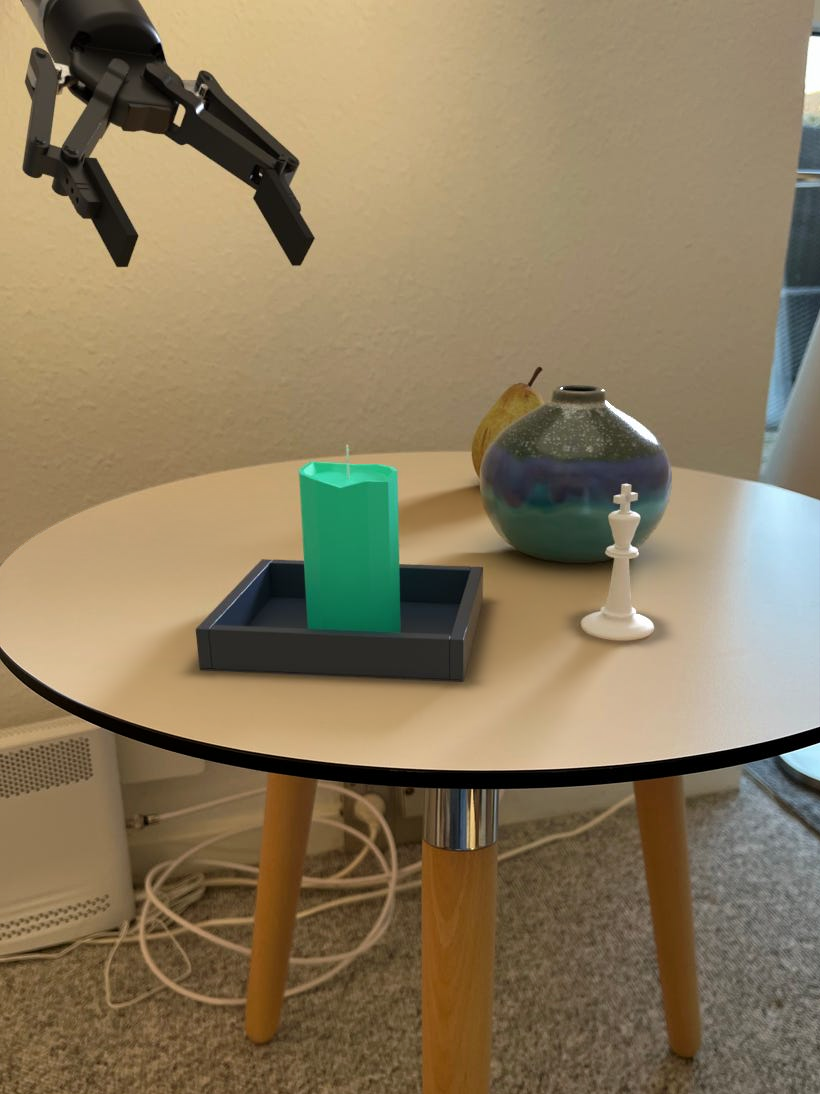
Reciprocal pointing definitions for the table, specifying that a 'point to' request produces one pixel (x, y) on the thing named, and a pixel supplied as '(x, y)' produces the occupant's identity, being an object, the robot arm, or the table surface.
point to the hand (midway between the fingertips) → (221, 252)
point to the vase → (572, 477)
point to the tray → (291, 648)
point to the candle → (351, 546)
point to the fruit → (504, 416)
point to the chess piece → (620, 580)
